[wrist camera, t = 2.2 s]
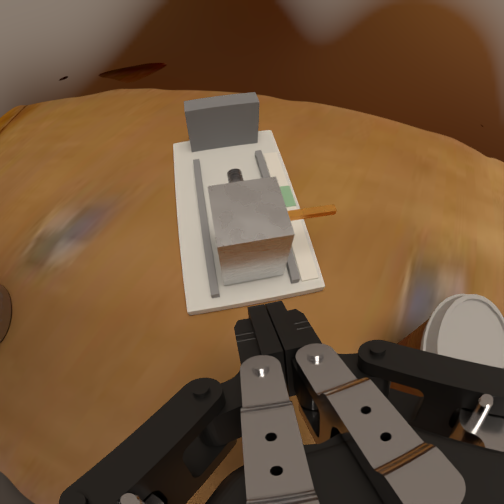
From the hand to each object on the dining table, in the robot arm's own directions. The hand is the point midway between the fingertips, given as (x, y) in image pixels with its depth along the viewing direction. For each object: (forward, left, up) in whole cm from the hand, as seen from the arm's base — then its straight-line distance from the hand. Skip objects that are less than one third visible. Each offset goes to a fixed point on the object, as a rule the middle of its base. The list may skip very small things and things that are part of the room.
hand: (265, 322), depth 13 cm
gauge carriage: (+4, +13, -15) cm, 20 cm away
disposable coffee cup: (+15, -5, -17) cm, 23 cm away
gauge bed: (+1, +18, -16) cm, 24 cm away
